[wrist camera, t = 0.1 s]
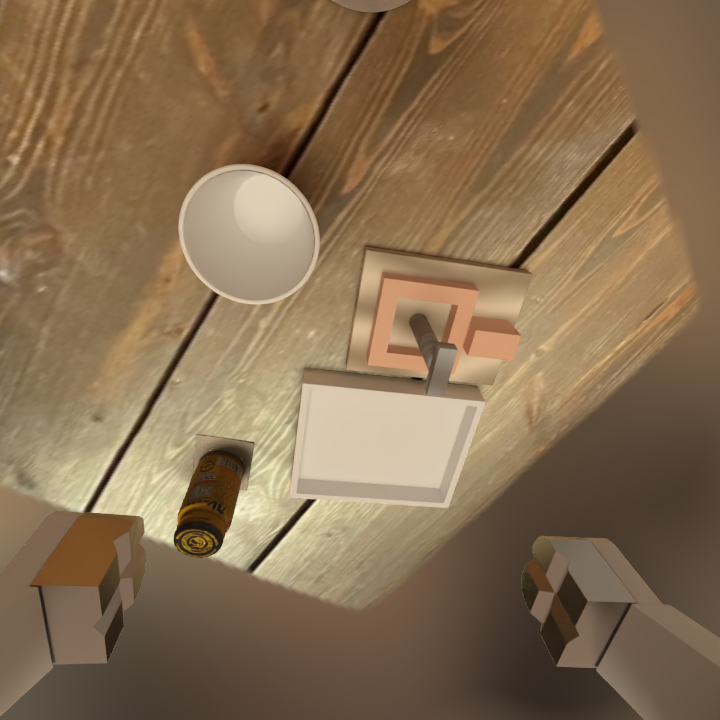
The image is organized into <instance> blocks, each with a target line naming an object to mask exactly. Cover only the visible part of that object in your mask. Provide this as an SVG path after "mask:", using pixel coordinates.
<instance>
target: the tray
mask: <svg viewBox="0 0 720 720" xmlns="http://www.w3.org/2000/svg"><path fill="white" fill-rule="evenodd" d="M425 383H426V381H423V380H414V379H404V378H395V377H386V376H376V375H367V374H357V373H348V372H338V371H329V370H320V369H310V368H304V375H303V383H302V392H301V401H300V409H299V418H298V426H297V435H296V443H295V452H294V461H293V469H292V478H291V488H290V498H305V499H320V500H335V501H351V502H366V503H381V504H397V505H412V506H428V507H443V508H448V506H449V504H450V501H451V498H452V495H453V492H454V490H455V487H456V484H457V481H458V478H459V476H460V473H461V470H462V467H463V464H464V462H465V459H466V456H467V453H468V450H469V448H470V445H471V442H472V439H473V437H474V434H475V431H476V428H477V425H478V423H479V420H480V417H481V414H482V411H483V409H484V406H485V403H486V401H485V399H484V398H483V396H482V394H481V393H480V391H479V389H478V387H477V386H470V385H461V384H452V383H448V385H447V388H446V391H445V395H444V397H441V396H431V395H427V394H426V391H425V389H424V387H425Z"/></svg>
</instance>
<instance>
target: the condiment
mask: <svg viewBox="0 0 720 720" xmlns="http://www.w3.org/2000/svg"><path fill="white" fill-rule="evenodd" d="M212 448H214V449H212ZM253 448H254V444H253V443H248V442H244V441H237V440H232V439H225V438H221V437H211V436H202V435H196V445H195V458H194V472H193V476H192V479H191V482H190V485H189V488H188V491H187V493H186V495H185V498H184V500H183V503H182V506H181V508H180V511H179V513H178V525H177V530H176V531H175V534H174V545H175V546H176V547H177V549H178V550H179V551H180V552H182V553H183V554H185V555H188V556H191V557H200V558H202V557H208V556H211V555H213V554H215V553H216V552H217V551H218V550H219V549H220V548H221V546H222V544H223V539H224V537H225V533H226V532H227V531H228V529H229V528H230V525H231V522H232V518H233V514H234V510H235V506H236V502H237V498H238V494H239V490H247V486H248V480H249V474H250V467H251V461H252V455H253ZM210 450H212V451H210Z"/></svg>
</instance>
